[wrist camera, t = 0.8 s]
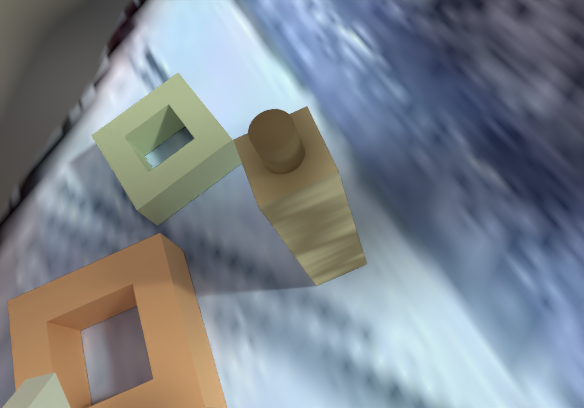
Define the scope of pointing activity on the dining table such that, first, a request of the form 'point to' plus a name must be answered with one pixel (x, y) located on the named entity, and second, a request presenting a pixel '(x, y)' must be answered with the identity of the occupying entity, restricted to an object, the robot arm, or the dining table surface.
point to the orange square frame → (107, 303)
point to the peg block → (301, 192)
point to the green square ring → (177, 168)
